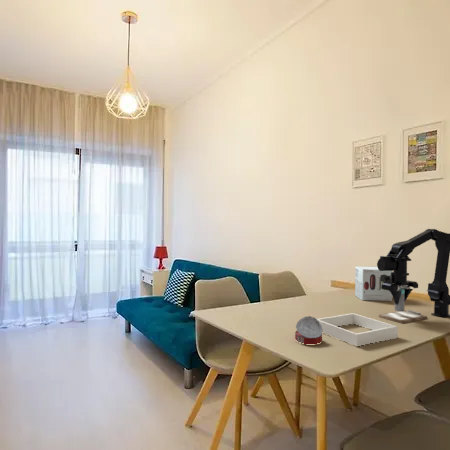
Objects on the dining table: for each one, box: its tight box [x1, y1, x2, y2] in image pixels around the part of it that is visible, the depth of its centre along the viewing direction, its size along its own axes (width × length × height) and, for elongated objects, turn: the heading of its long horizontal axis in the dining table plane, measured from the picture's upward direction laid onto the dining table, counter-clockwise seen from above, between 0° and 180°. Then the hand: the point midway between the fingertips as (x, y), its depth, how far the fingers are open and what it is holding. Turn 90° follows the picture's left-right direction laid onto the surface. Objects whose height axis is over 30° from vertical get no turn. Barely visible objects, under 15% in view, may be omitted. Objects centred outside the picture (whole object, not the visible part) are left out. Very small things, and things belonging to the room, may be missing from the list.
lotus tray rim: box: [316, 312, 399, 347], centre depth 141 cm, size 22×22×4 cm
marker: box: [394, 288, 406, 312], centre depth 164 cm, size 4×4×10 cm
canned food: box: [294, 315, 323, 344], centre depth 133 cm, size 11×10×10 cm
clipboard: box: [378, 309, 428, 324], centre depth 165 cm, size 18×12×2 cm, turn 117°
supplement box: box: [354, 265, 393, 302], centre depth 206 cm, size 17×13×18 cm
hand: (399, 303), depth 164 cm, fingers closed on marker, 4 cm apart
